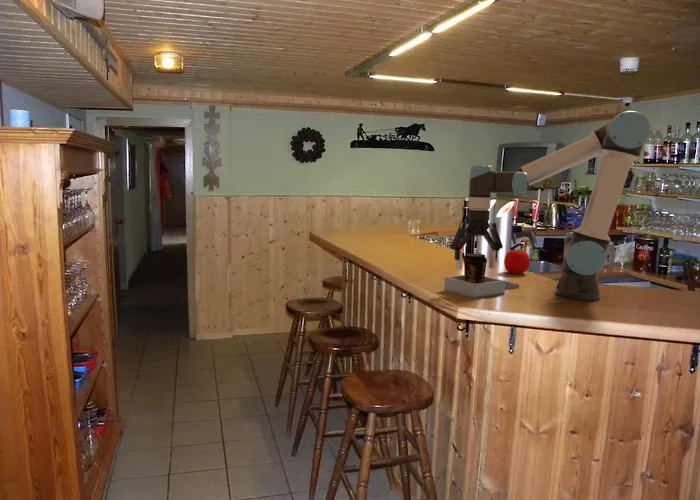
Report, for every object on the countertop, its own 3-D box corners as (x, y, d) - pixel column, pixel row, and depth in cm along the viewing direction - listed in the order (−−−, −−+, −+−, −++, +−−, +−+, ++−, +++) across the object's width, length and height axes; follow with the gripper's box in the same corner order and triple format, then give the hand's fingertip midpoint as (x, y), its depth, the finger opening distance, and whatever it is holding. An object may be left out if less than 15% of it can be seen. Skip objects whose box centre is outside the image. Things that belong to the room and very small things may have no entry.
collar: (519, 287, 208) (519, 284, 208) (492, 291, 199) (492, 287, 199) (489, 280, 220) (489, 277, 220) (462, 283, 212) (462, 280, 212)
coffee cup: (463, 286, 202) (465, 252, 200) (486, 288, 199) (488, 253, 198) (459, 291, 194) (461, 255, 192) (483, 293, 191) (485, 256, 190)
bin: (504, 294, 194) (505, 280, 194) (474, 298, 186) (475, 284, 185) (473, 286, 207) (473, 273, 206) (444, 290, 198) (444, 277, 198)
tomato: (498, 271, 242) (500, 247, 240) (517, 270, 246) (519, 247, 245) (514, 276, 232) (516, 251, 231) (533, 275, 236) (535, 250, 235)
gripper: (502, 208, 200) (499, 265, 203) (442, 208, 192) (439, 267, 195) (515, 210, 193) (511, 269, 196) (453, 209, 185) (449, 271, 187)
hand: (475, 268), depth 195 cm, fingers open, 13 cm apart
